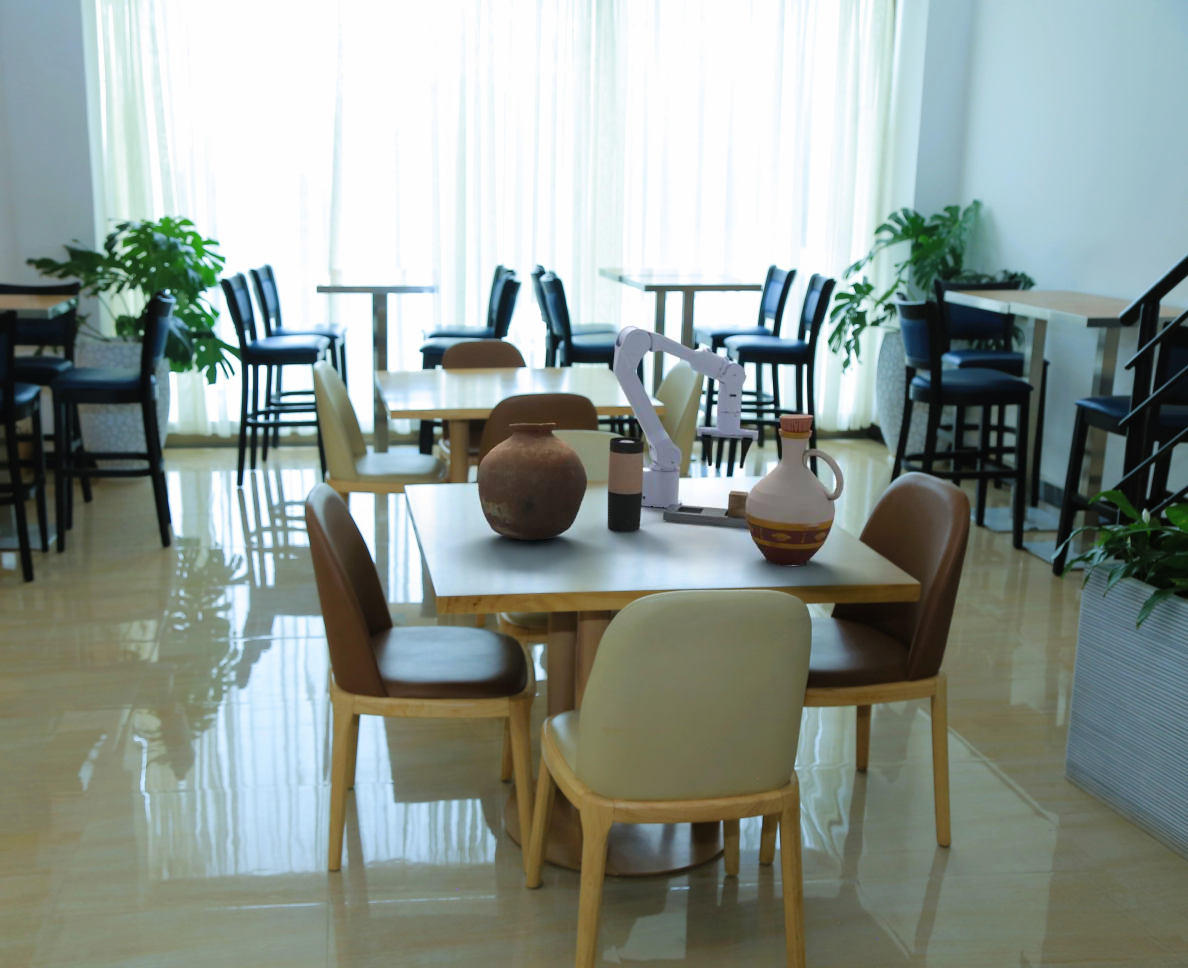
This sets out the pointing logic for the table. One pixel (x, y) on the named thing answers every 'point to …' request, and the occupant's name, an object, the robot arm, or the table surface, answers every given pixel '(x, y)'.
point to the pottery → (531, 484)
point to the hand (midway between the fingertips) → (725, 466)
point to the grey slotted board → (703, 516)
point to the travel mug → (625, 484)
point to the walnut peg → (737, 504)
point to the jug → (793, 500)
